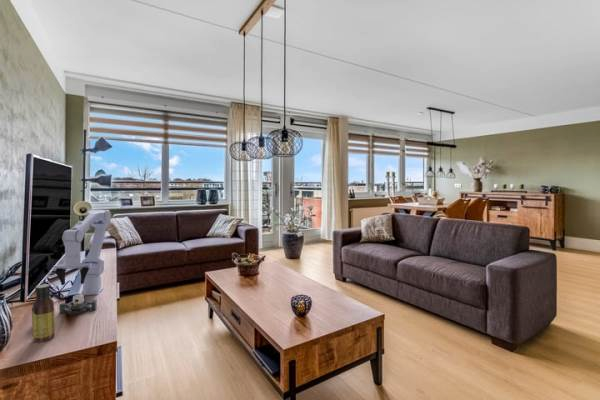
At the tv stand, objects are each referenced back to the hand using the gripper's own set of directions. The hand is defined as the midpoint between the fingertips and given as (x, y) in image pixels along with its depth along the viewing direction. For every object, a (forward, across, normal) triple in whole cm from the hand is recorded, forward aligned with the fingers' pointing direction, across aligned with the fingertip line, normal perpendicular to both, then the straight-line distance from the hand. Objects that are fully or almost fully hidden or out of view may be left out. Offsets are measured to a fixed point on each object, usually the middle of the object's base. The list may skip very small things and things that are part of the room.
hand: (72, 283), depth 142 cm
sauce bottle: (+10, +2, -34) cm, 36 cm away
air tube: (+10, +5, -9) cm, 14 cm away
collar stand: (+10, +5, -9) cm, 14 cm away
